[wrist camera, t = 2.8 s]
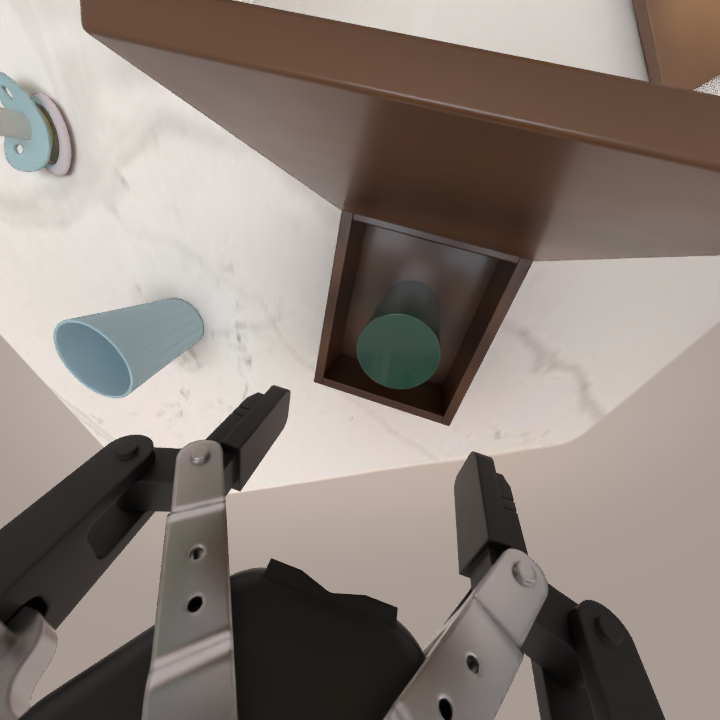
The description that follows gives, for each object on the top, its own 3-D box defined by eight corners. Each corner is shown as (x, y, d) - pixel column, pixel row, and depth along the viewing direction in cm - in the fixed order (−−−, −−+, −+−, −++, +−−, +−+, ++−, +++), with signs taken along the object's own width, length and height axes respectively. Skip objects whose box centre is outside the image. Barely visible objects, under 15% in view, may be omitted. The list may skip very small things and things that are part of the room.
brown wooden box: (447, 389, 30) (449, 426, 25) (333, 353, 31) (313, 382, 26) (515, 244, 23) (536, 254, 18) (362, 204, 24) (342, 204, 19)
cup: (221, 350, 35) (146, 400, 26) (171, 351, 37) (85, 397, 28) (198, 287, 31) (102, 318, 22) (144, 291, 33) (36, 322, 25)
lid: (1065, 245, 3) (1141, 173, 3) (79, 29, 4) (73, -35, 4) (535, 261, 18) (541, 249, 17) (339, 209, 19) (342, 198, 19)
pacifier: (73, 102, 26) (10, 69, 26) (-21, 76, 20) (-102, 34, 20) (81, 189, 29) (26, 162, 29) (3, 187, 24) (-65, 153, 24)
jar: (422, 268, 24) (415, 297, 17) (450, 322, 26) (455, 371, 18) (369, 298, 27) (340, 336, 19) (397, 346, 28) (382, 399, 21)
